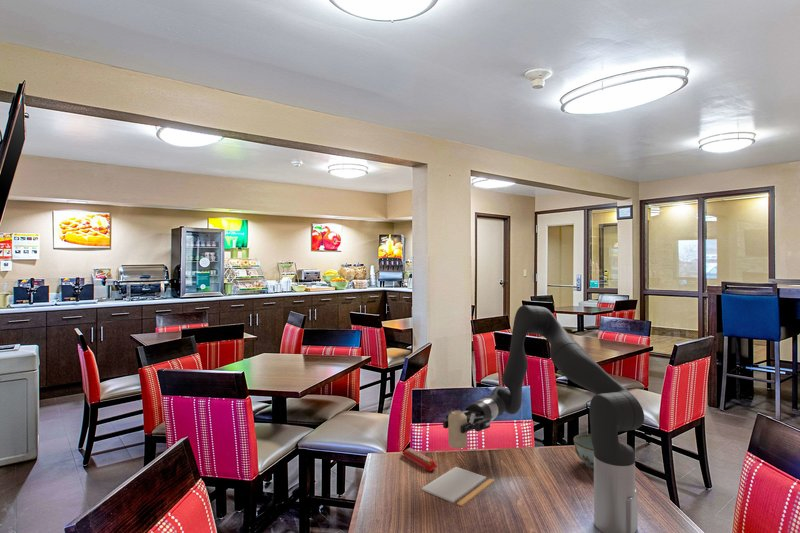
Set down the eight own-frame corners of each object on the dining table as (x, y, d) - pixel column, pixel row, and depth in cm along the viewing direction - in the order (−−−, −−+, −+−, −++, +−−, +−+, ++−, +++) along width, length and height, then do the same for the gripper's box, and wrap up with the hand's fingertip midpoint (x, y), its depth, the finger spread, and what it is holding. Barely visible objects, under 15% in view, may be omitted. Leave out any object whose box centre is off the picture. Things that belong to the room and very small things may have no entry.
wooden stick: (494, 481, 135) (494, 480, 135) (461, 506, 121) (461, 504, 121) (489, 479, 136) (489, 478, 136) (457, 504, 122) (457, 502, 122)
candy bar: (400, 456, 153) (400, 447, 153) (409, 453, 155) (409, 445, 155) (429, 474, 140) (429, 464, 140) (438, 471, 142) (438, 461, 142)
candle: (466, 449, 130) (466, 415, 130) (447, 448, 132) (447, 414, 131) (467, 442, 136) (467, 409, 136) (449, 440, 137) (449, 408, 137)
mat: (486, 478, 136) (486, 476, 136) (453, 502, 123) (453, 501, 123) (455, 468, 144) (455, 466, 144) (421, 489, 130) (421, 488, 130)
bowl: (565, 465, 145) (565, 440, 145) (585, 453, 154) (584, 430, 154) (607, 480, 135) (607, 454, 135) (626, 466, 144) (626, 442, 144)
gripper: (462, 396, 149) (432, 409, 136) (502, 405, 140) (473, 420, 127) (463, 418, 149) (433, 434, 136) (502, 429, 140) (474, 446, 127)
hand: (452, 427), depth 132 cm, fingers closed on candle, 5 cm apart
